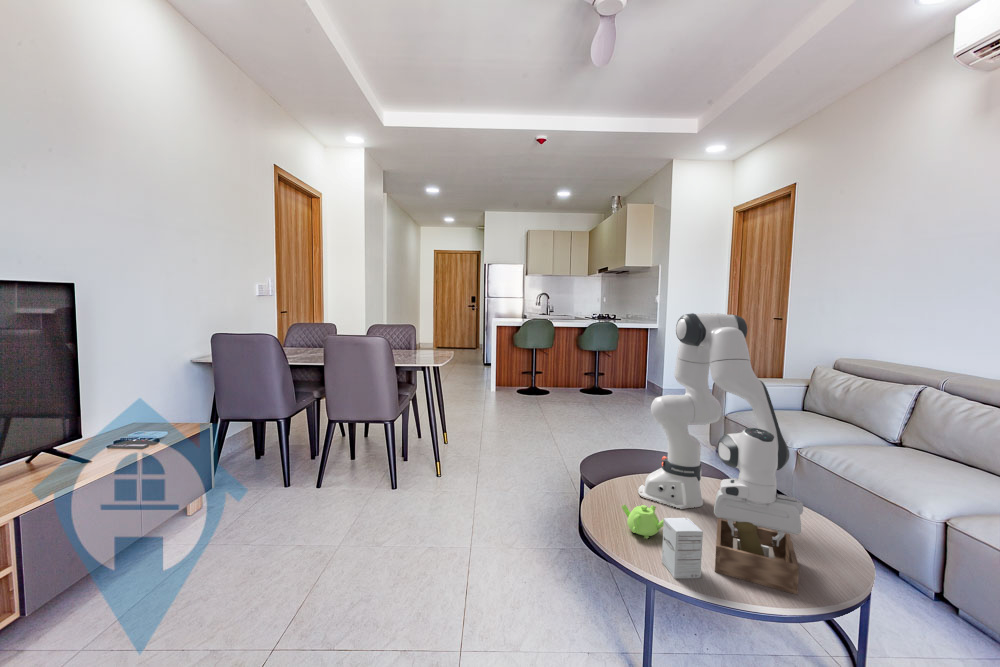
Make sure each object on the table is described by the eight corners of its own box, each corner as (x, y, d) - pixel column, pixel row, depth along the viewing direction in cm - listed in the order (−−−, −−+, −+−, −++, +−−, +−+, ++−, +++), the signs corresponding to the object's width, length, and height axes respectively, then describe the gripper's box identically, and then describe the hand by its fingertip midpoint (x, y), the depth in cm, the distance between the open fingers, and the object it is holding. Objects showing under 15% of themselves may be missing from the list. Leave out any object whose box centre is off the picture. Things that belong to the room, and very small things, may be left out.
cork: (767, 555, 115) (758, 515, 116) (765, 566, 110) (756, 524, 111) (742, 552, 119) (734, 513, 119) (739, 563, 114) (730, 522, 115)
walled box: (714, 571, 111) (716, 545, 111) (716, 540, 127) (717, 518, 127) (797, 594, 103) (798, 566, 102) (788, 558, 118) (789, 534, 118)
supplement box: (660, 562, 115) (662, 517, 114) (686, 562, 115) (688, 516, 115) (673, 579, 108) (675, 531, 107) (701, 578, 108) (703, 530, 108)
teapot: (630, 541, 125) (631, 514, 125) (619, 522, 137) (620, 497, 136) (667, 542, 125) (669, 515, 125) (654, 523, 137) (655, 498, 136)
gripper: (801, 494, 112) (799, 545, 112) (715, 478, 121) (713, 525, 122) (805, 503, 106) (802, 557, 107) (714, 486, 116) (712, 535, 116)
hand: (754, 540), depth 114 cm, fingers open, 8 cm apart
